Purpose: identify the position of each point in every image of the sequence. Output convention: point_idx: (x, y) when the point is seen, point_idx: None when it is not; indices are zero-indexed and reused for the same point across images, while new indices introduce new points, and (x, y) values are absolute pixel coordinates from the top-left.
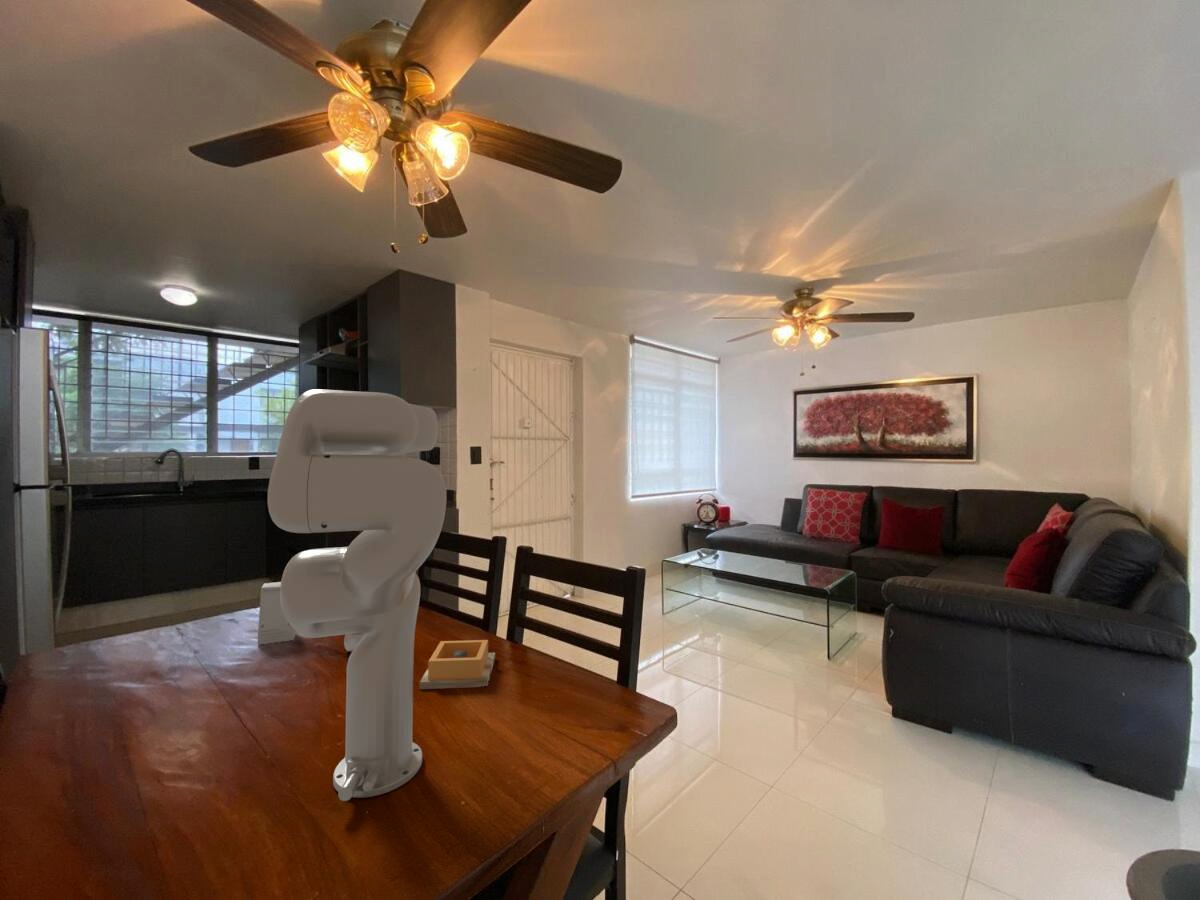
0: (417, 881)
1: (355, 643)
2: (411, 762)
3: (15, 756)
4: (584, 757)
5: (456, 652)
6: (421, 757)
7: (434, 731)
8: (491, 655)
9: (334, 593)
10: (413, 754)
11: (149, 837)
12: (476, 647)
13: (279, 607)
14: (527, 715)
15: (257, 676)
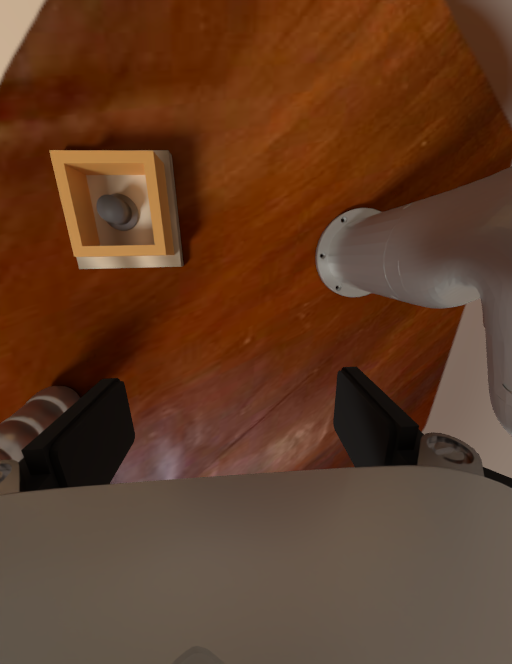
0: (503, 167)
1: (73, 403)
2: (365, 217)
3: None
4: None
5: (108, 216)
6: (358, 208)
7: (290, 213)
8: None
9: None
10: (351, 220)
11: (399, 392)
12: (73, 180)
13: None
14: (262, 66)
15: (158, 467)
